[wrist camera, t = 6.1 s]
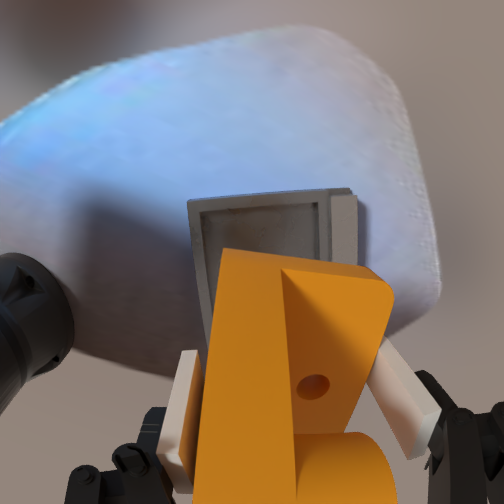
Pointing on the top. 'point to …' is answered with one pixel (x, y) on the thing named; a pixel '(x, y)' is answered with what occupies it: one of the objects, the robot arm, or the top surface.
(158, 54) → the top surface
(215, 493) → the bracket
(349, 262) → the tray
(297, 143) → the top surface
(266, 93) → the top surface
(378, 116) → the top surface
